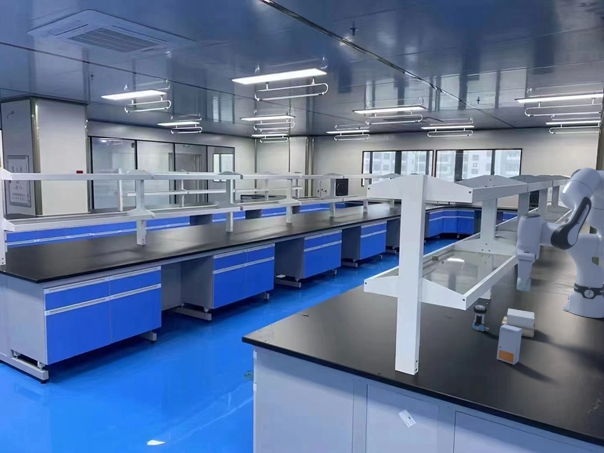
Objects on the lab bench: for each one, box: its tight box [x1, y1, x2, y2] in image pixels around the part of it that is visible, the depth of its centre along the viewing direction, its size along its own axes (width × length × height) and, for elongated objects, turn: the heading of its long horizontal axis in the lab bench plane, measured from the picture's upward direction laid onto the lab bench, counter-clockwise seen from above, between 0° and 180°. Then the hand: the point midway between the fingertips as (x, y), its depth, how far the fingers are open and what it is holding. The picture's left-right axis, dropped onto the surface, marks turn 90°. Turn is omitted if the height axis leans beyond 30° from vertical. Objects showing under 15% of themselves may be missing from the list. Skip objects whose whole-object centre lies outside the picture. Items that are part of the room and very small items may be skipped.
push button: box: [471, 304, 490, 332], centre depth 184 cm, size 7×5×10 cm
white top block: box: [506, 308, 535, 328], centre depth 185 cm, size 10×10×4 cm
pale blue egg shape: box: [516, 276, 532, 292], centre depth 184 cm, size 5×5×5 cm
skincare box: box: [496, 324, 522, 366], centre depth 153 cm, size 6×4×12 cm
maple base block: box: [500, 315, 536, 339], centre depth 186 cm, size 12×12×4 cm
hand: (523, 285), depth 184 cm, fingers closed on pale blue egg shape, 5 cm apart
